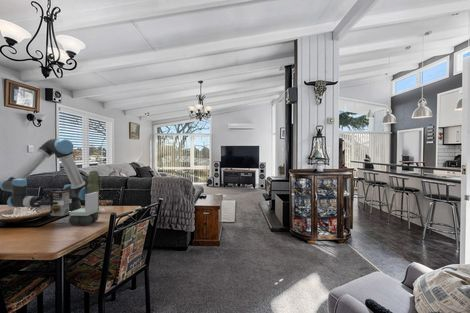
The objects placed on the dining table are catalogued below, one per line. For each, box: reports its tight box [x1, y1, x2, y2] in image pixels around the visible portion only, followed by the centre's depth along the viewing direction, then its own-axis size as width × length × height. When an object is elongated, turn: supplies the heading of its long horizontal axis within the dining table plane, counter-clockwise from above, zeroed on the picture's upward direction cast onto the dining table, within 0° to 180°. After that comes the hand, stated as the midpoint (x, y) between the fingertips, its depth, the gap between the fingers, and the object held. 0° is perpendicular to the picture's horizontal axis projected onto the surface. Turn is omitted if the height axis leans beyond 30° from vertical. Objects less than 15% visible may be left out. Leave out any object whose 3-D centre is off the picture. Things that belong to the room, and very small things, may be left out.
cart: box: [68, 192, 99, 226], centre depth 172 cm, size 13×14×21 cm
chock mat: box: [54, 218, 71, 225], centre depth 176 cm, size 10×13×1 cm
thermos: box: [84, 170, 102, 214], centre depth 203 cm, size 9×12×35 cm
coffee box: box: [49, 190, 70, 217], centre depth 167 cm, size 9×6×16 cm
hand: (67, 202), depth 167 cm, fingers closed on coffee box, 7 cm apart
